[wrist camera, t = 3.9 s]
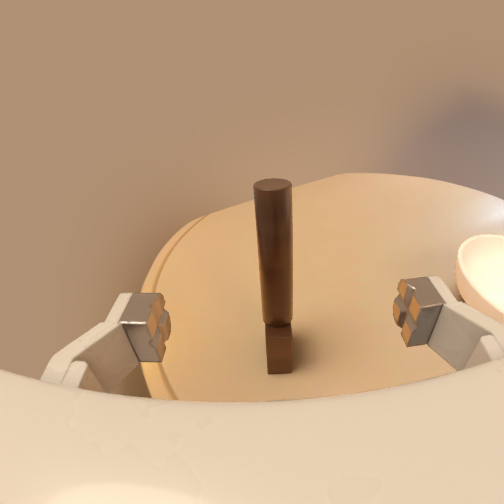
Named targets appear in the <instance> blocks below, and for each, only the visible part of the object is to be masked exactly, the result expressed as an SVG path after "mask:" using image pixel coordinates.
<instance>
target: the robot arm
mask: <svg viewBox="0 0 504 504" xmlns="http://www.w3.org/2000/svg"><path fill="white" fill-rule="evenodd" d="M397 290H398V292H399V293H400V294H399V295H398V296H397V297H396V298H395V300H394V305H393V316H394V320H395V322H396V324H397V325H398V326H399V327H401V328H402V332H401V335H402V337H403V340H404V342H405V344H406V346H407V347H411V346H418V345H424V344H427V345H428V346H429V347H430V348H431V349H433V350H434V351H435V352H436V353H437V354H438V355H440V356H441V357H442V358H443V359H444V360H446V361H447V362H448V363H449V364H450V365H451V366H453V367H454V368H455V369H456V370H457V372H453V373H449V374H446V375H442V376H438V377H434V378H430V379H426V380H422V381H417V382H413V383H408V384H403V385H398V386H393V387H388V388H382V389H377V390H371V391H364V392H358V393H351V394H344V395H336V396H327V397H317V398H307V399H294V400H279V401H254V402H206V401H182V400H166V399H154V398H143V397H133V396H126V395H117V394H111V392H112V391H113V389H115V388H116V387H117V386H118V385H119V384H120V382H121V381H122V380H123V379H124V378H125V377H126V376H127V375H128V374H129V373H130V372H131V371H132V370H133V369H134V368H135V367H136V366H137V365H138V364H139V362H162V361H163V357H164V354H165V350H166V346H165V344H164V342H165V341H166V340H168V339H169V336H170V332H171V322H170V316H169V313H168V312H167V311H166V310H165V309H164V305H165V300H164V297H163V295H162V294H161V293H122V294H120V295H119V296H118V298H117V300H116V302H115V304H114V305H113V307H112V309H111V311H110V313H109V315H108V317H107V318H106V320H105V322H104V323H99V324H98V325H97V326H95V327H93V328H92V329H91V330H89V331H88V332H86V333H85V334H83V335H82V336H81V337H79V338H78V339H76V340H75V341H73V342H72V343H70V344H69V345H67V346H66V347H65V348H63V349H62V350H60V351H59V352H57V353H56V354H55V355H53V356H52V358H51V360H50V362H49V364H48V365H47V367H46V369H45V371H44V373H43V375H42V377H41V379H40V380H38V379H34V378H30V377H26V376H22V375H18V374H15V373H12V372H8V371H5V370H1V369H0V504H504V325H503V324H501V323H499V322H498V321H496V320H494V319H492V318H491V317H489V316H487V315H485V314H483V313H482V312H480V311H478V310H476V309H475V308H473V307H471V306H469V305H467V304H465V303H464V302H462V301H460V302H458V301H457V299H456V298H455V297H454V295H453V294H452V293H451V291H450V290H449V288H448V287H447V286H446V284H445V283H444V282H443V280H442V279H441V278H440V277H439V276H437V275H433V276H425V277H421V278H411V279H401V280H400V282H399V284H398V288H397Z"/></svg>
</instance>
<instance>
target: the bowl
mask: <svg viewBox="0 0 504 504" xmlns="http://www.w3.org/2000/svg"><path fill="white" fill-rule="evenodd" d="M455 277H456V284H457V287H458V289H459V292H460V294H461V296H462V298H463V299H464V301H465V302H466V304H467V305H469V306H471V307H473V308H475V309H476V310H478V311H480V312H482V313H483V314H485V315H487V316H489V317H491V318H492V319H494V320H496V321H498V322H499V323H501V324H503V325H504V236H499V235H478V236H474V237H472V238H469V239H467V240H466V241H465V242H463V243H462V245H461V246H460V248H459V250H458V255H457V260H456V271H455Z"/></svg>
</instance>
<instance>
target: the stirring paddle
mask: <svg viewBox="0 0 504 504" xmlns="http://www.w3.org/2000/svg"><path fill="white" fill-rule="evenodd" d="M253 189H254V202H255V216H256V229H257V243H258V257H259V271H260V285H261V299H262V314H263V320H264V322H265V334H266V353H267V369H268V374H280V373H291V369H292V329H291V320H292V316H293V223H292V184H291V182H289V181H288V180H284V179H264V180H261V181H258V182H256V183H255V184H254V185H253Z"/></svg>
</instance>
